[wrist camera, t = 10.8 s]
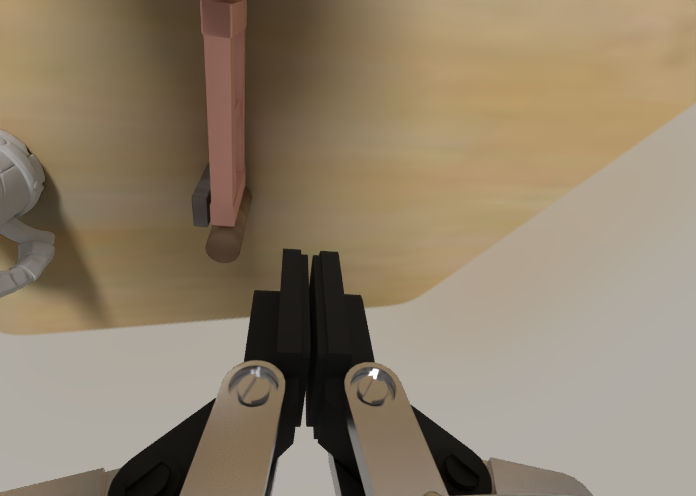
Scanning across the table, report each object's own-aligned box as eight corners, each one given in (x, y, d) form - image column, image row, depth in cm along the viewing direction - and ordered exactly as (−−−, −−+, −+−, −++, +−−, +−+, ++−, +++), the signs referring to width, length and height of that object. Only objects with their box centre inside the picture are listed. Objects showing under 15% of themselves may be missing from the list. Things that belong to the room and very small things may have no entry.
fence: (188, -232, 21) (133, -337, 14) (257, -214, 22) (236, -306, 15) (210, 205, 35) (189, 260, 28) (251, 208, 36) (240, 263, 29)
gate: (222, -6, 26) (199, -2, 20) (246, -2, 26) (231, 4, 20) (226, 181, 33) (210, 224, 28) (245, 183, 34) (234, 226, 28)
